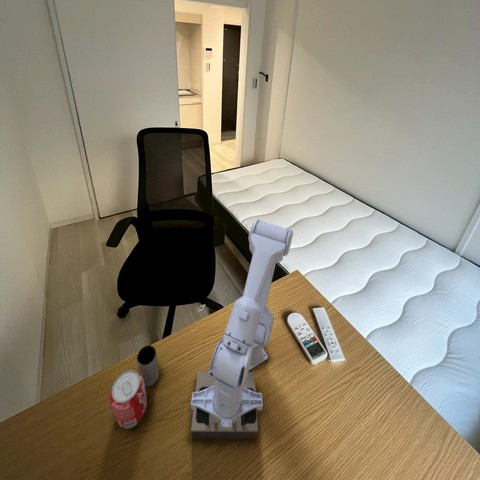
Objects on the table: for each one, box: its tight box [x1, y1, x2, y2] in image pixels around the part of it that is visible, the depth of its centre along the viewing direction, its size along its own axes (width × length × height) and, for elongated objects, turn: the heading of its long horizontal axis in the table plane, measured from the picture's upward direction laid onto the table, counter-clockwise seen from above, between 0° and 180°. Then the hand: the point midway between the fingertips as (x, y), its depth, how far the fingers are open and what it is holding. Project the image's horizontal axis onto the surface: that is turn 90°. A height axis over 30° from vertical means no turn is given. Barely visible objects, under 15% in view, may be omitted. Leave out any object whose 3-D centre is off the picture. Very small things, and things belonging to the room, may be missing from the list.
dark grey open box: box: [191, 432, 258, 440], centre depth 59 cm, size 10×15×5 cm
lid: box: [190, 370, 259, 433], centre depth 57 cm, size 11×15×4 cm
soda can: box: [109, 369, 148, 430], centre depth 56 cm, size 7×7×12 cm
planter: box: [136, 344, 160, 388], centre depth 63 cm, size 4×4×10 cm
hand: (225, 419), depth 54 cm, fingers open, 7 cm apart
